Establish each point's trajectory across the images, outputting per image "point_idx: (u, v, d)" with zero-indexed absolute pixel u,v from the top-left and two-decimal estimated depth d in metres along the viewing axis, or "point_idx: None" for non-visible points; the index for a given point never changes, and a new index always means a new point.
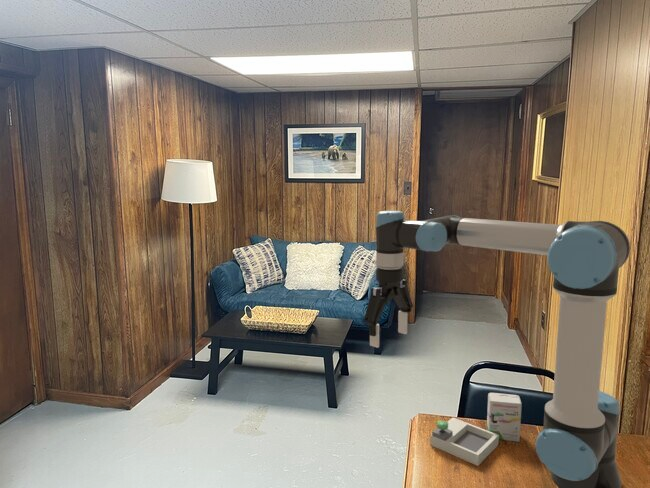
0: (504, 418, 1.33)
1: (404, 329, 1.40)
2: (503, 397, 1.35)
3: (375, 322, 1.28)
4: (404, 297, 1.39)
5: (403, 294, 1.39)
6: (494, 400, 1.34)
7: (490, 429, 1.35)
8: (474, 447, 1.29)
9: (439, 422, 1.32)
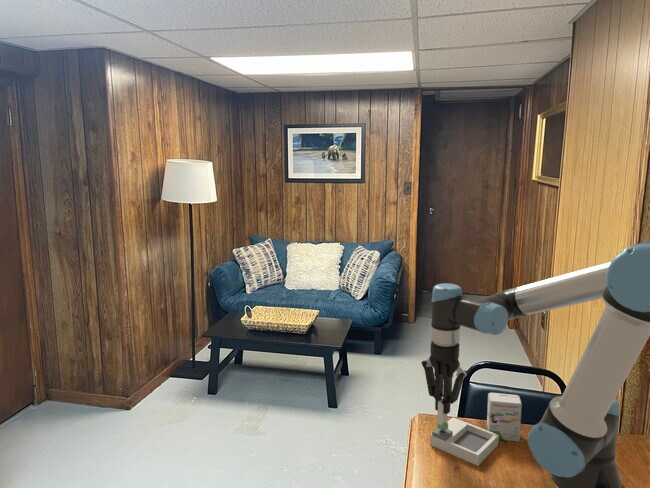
0: (504, 418, 1.33)
1: None
2: (503, 397, 1.35)
3: (435, 397, 1.30)
4: None
5: None
6: (494, 400, 1.34)
7: (490, 429, 1.35)
8: (474, 447, 1.29)
9: None
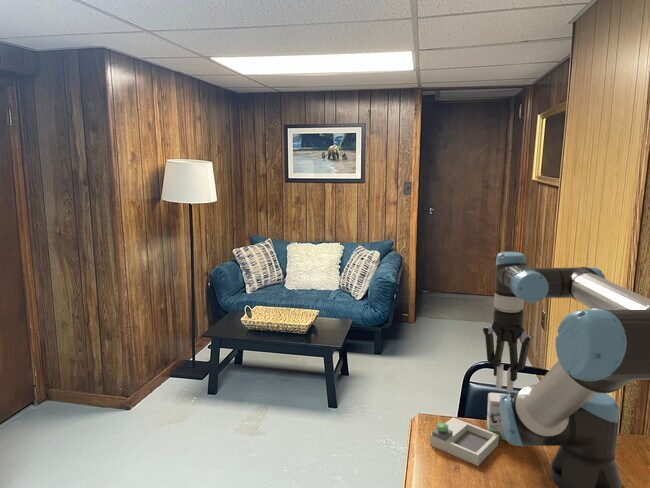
0: None
1: None
2: None
3: (494, 363, 1.34)
4: None
5: None
6: (494, 400, 1.34)
7: (490, 429, 1.35)
8: (474, 447, 1.29)
9: (439, 424, 1.32)
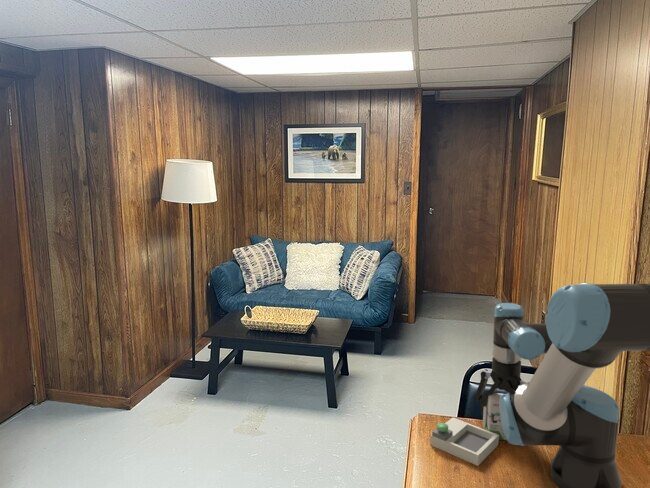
0: None
1: None
2: None
3: (481, 402, 1.39)
4: None
5: None
6: (494, 400, 1.34)
7: (490, 429, 1.35)
8: (474, 447, 1.29)
9: (439, 424, 1.32)
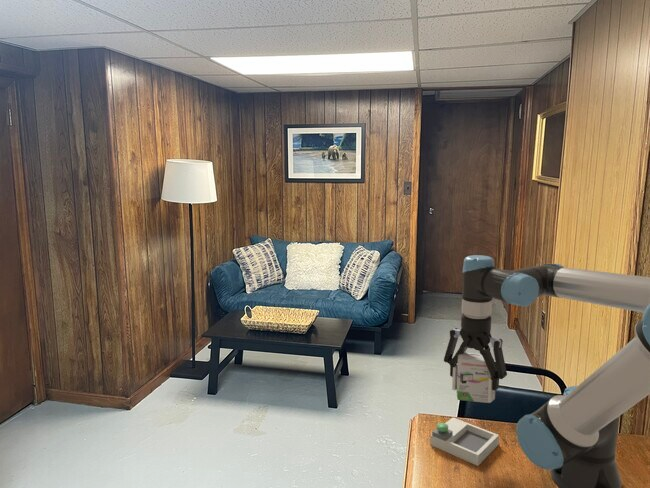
0: (473, 378, 1.25)
1: None
2: (473, 356, 1.27)
3: (450, 363, 1.31)
4: None
5: None
6: (463, 359, 1.26)
7: (459, 390, 1.27)
8: (474, 447, 1.29)
9: (439, 424, 1.32)
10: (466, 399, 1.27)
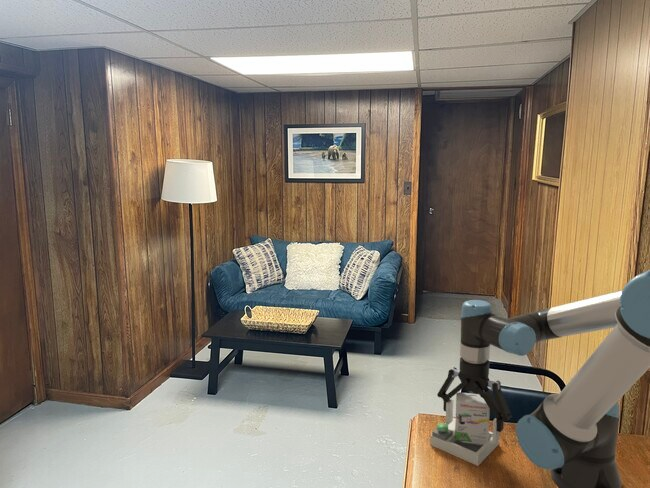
0: (472, 419, 1.27)
1: None
2: (471, 397, 1.29)
3: (444, 398, 1.34)
4: None
5: None
6: (462, 400, 1.28)
7: (458, 431, 1.29)
8: (474, 447, 1.29)
9: (439, 424, 1.32)
10: (464, 440, 1.29)
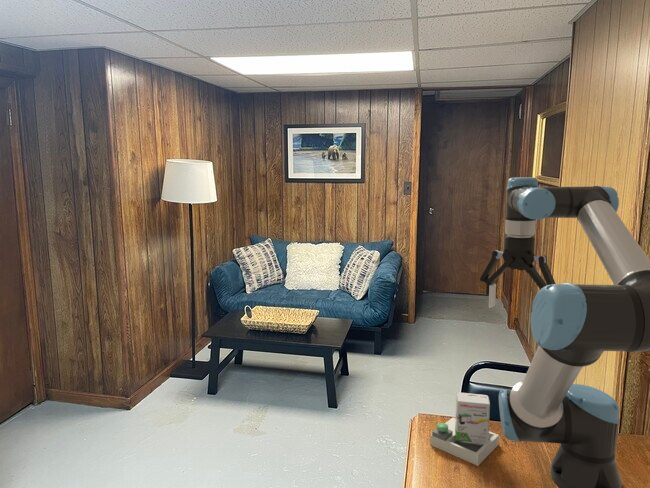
0: (472, 419, 1.27)
1: None
2: (471, 397, 1.29)
3: (487, 281, 1.34)
4: None
5: None
6: (462, 400, 1.28)
7: (458, 431, 1.29)
8: (474, 447, 1.29)
9: (439, 424, 1.32)
10: (464, 440, 1.29)
